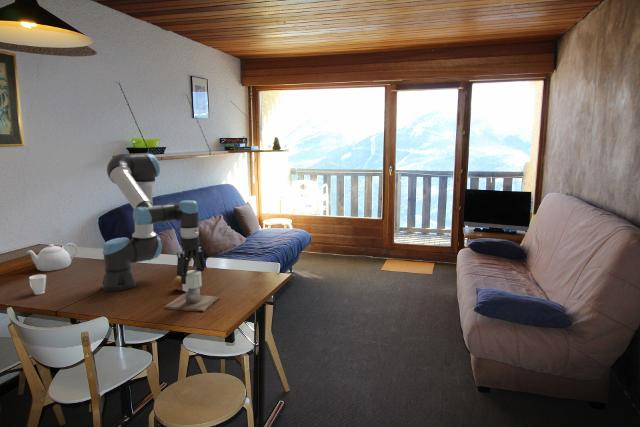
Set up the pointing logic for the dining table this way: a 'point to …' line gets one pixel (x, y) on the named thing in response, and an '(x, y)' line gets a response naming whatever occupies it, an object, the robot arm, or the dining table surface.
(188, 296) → the bottle on square board
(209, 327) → the dining table surface
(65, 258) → the teapot
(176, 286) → the apple
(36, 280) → the cup
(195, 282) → the cap
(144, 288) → the dining table surface
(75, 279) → the dining table surface
